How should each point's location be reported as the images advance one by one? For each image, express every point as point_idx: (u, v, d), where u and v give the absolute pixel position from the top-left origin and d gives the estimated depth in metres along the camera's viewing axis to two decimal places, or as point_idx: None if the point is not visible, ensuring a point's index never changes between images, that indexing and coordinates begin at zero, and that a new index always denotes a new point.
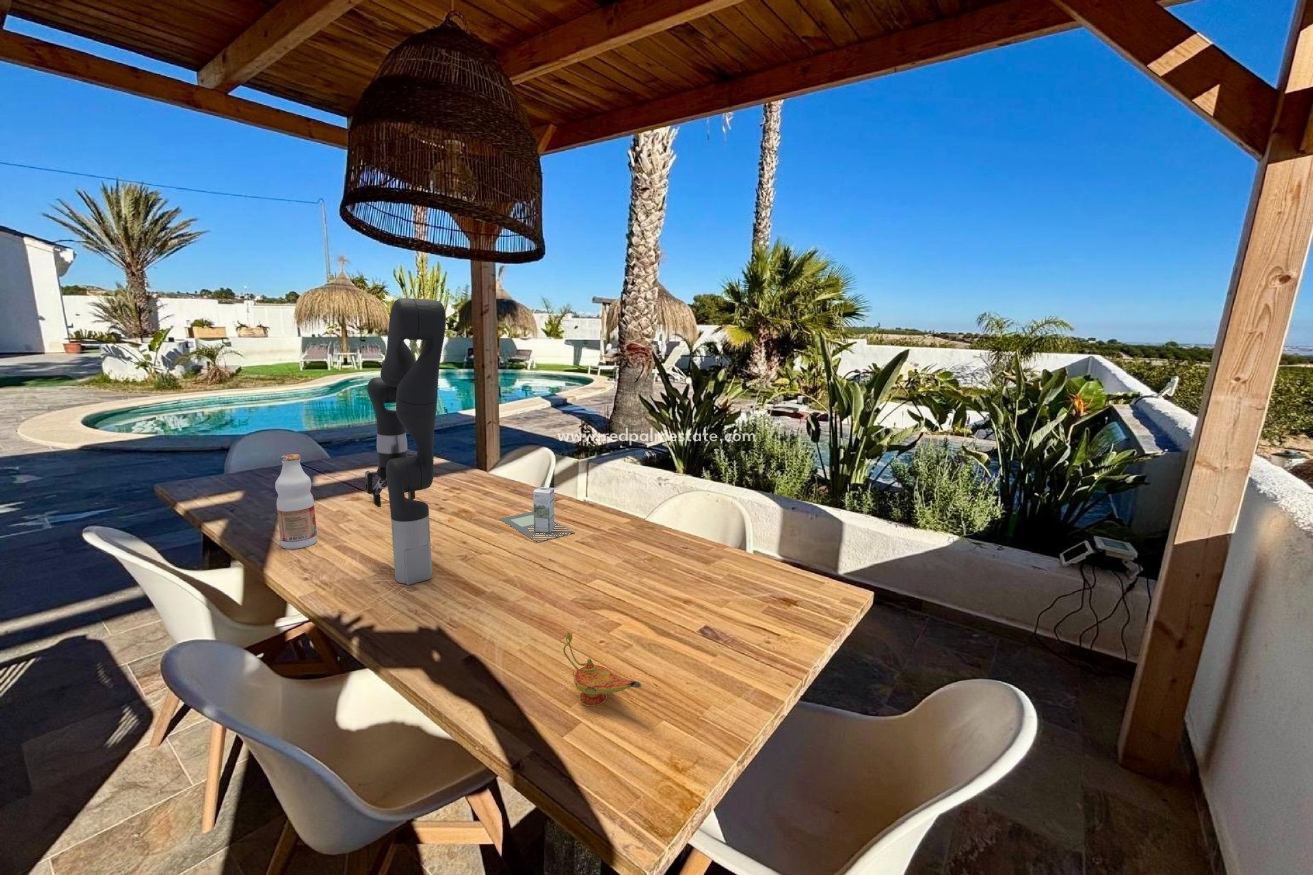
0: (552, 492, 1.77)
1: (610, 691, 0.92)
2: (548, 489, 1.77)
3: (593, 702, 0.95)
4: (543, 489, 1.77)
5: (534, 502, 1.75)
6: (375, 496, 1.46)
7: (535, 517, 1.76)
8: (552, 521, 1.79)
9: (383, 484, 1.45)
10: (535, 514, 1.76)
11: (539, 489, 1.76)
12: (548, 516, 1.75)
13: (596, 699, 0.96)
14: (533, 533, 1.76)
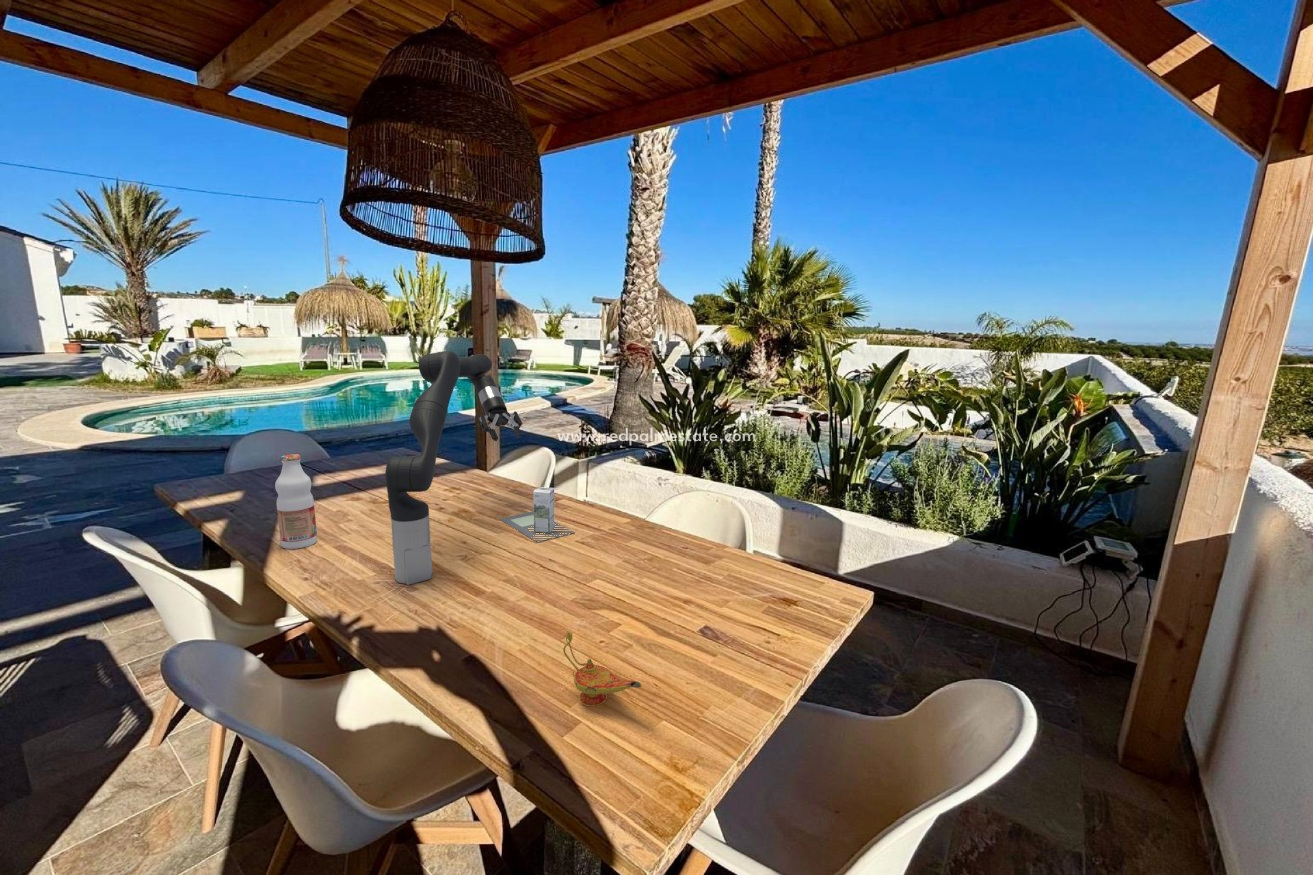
0: (552, 492, 1.77)
1: (610, 691, 0.92)
2: (548, 489, 1.77)
3: (593, 702, 0.95)
4: (543, 489, 1.77)
5: (534, 502, 1.75)
6: (491, 431, 1.83)
7: (535, 517, 1.76)
8: (552, 521, 1.79)
9: (494, 421, 1.84)
10: (535, 514, 1.76)
11: (539, 489, 1.76)
12: (548, 516, 1.75)
13: (596, 699, 0.96)
14: (533, 533, 1.76)
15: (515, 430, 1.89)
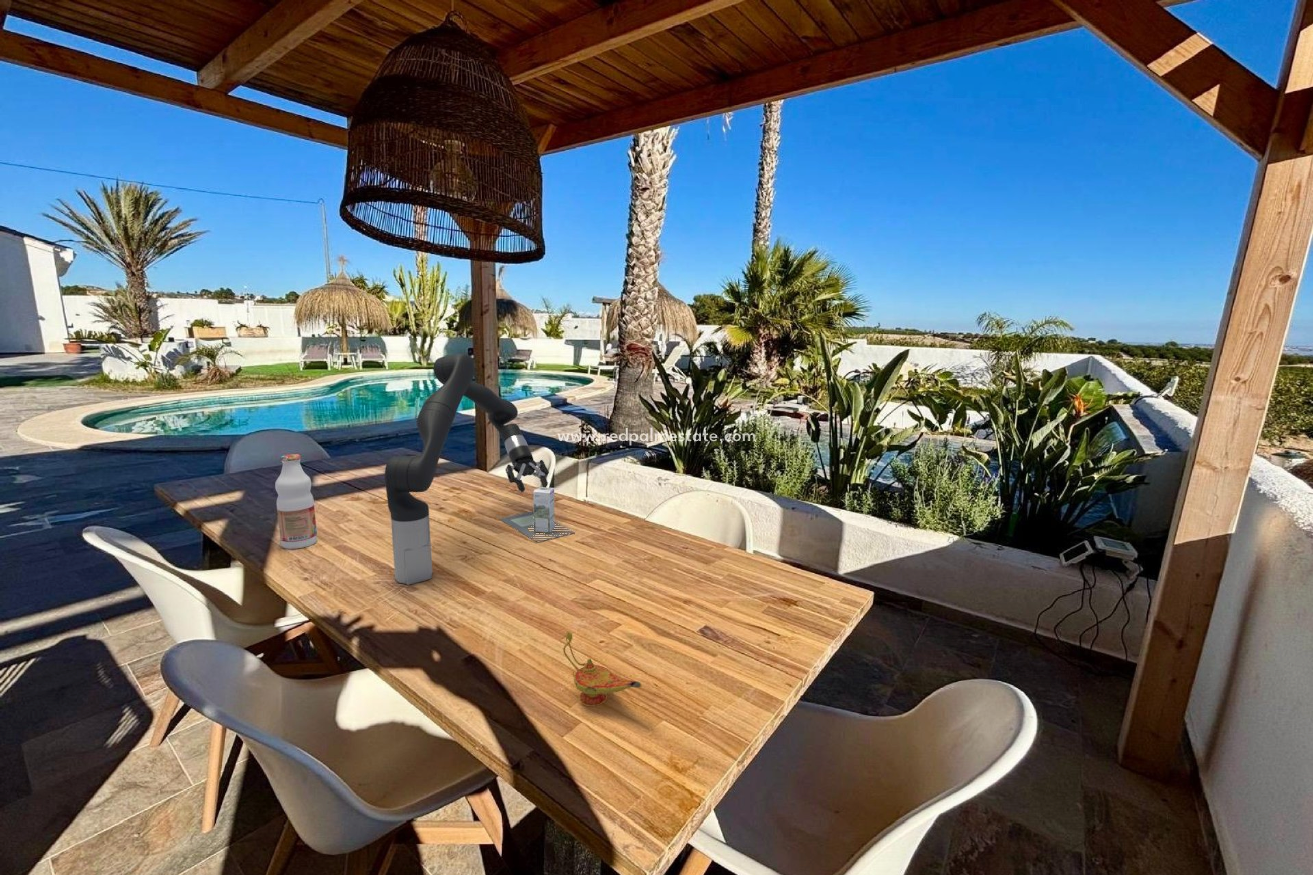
0: (552, 492, 1.77)
1: (610, 691, 0.92)
2: (548, 489, 1.77)
3: (593, 702, 0.95)
4: (543, 489, 1.77)
5: (534, 502, 1.75)
6: (518, 482, 1.79)
7: (535, 517, 1.76)
8: (552, 521, 1.79)
9: (521, 471, 1.81)
10: (535, 514, 1.76)
11: (539, 489, 1.76)
12: (548, 516, 1.75)
13: (596, 699, 0.96)
14: (533, 533, 1.76)
15: (542, 480, 1.85)
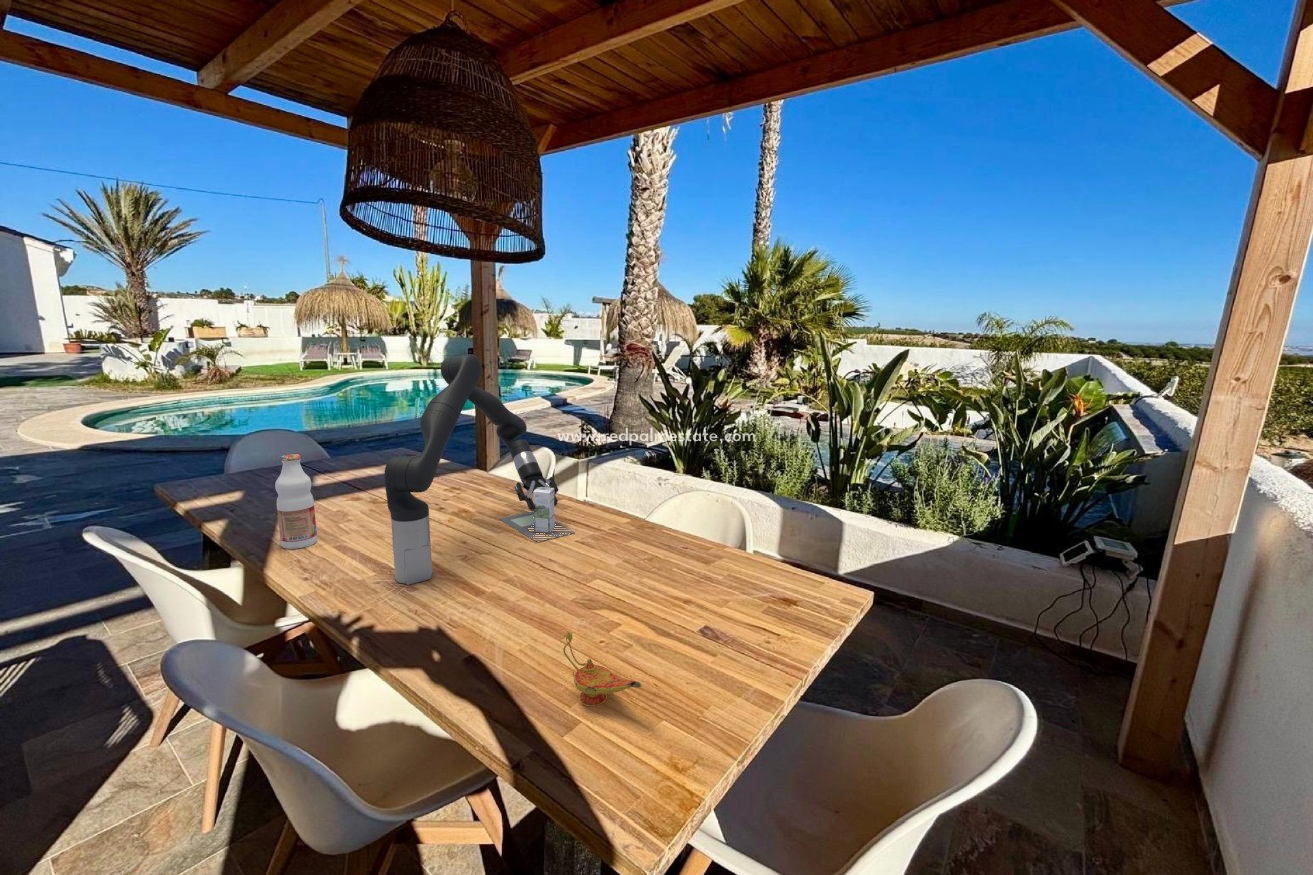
0: (552, 492, 1.77)
1: (610, 691, 0.92)
2: (548, 489, 1.77)
3: (593, 702, 0.95)
4: (543, 489, 1.77)
5: (534, 502, 1.75)
6: (528, 500, 1.75)
7: (535, 517, 1.76)
8: (552, 521, 1.79)
9: (530, 489, 1.77)
10: (535, 514, 1.76)
11: (539, 489, 1.76)
12: (548, 516, 1.75)
13: (596, 699, 0.96)
14: (533, 533, 1.76)
15: None
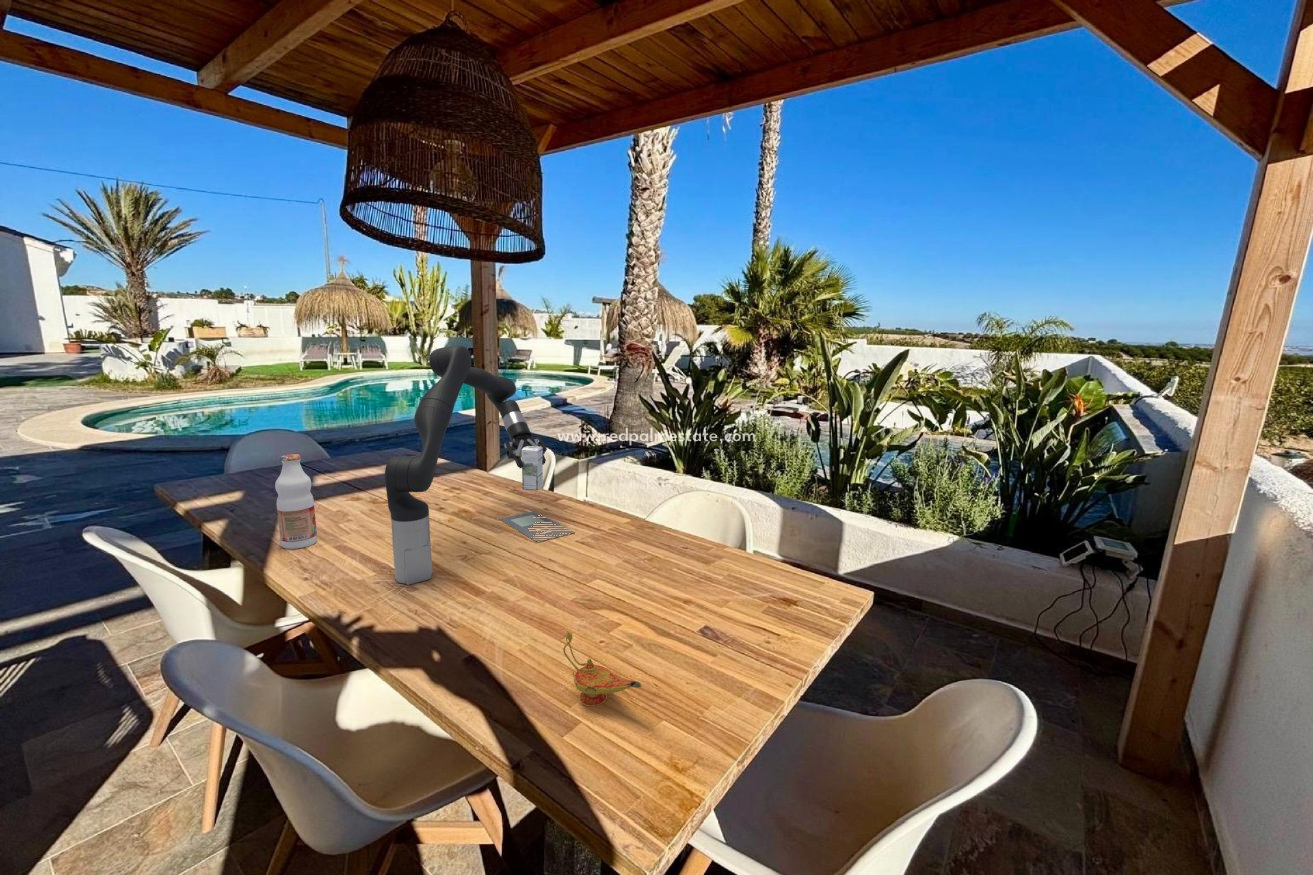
0: (540, 450, 1.81)
1: (610, 691, 0.92)
2: (536, 447, 1.80)
3: (593, 702, 0.95)
4: (531, 447, 1.80)
5: (522, 460, 1.79)
6: (516, 458, 1.79)
7: (523, 475, 1.80)
8: (540, 479, 1.83)
9: (519, 447, 1.81)
10: (523, 472, 1.80)
11: (527, 447, 1.80)
12: (536, 474, 1.79)
13: (596, 699, 0.96)
14: (533, 533, 1.76)
15: None
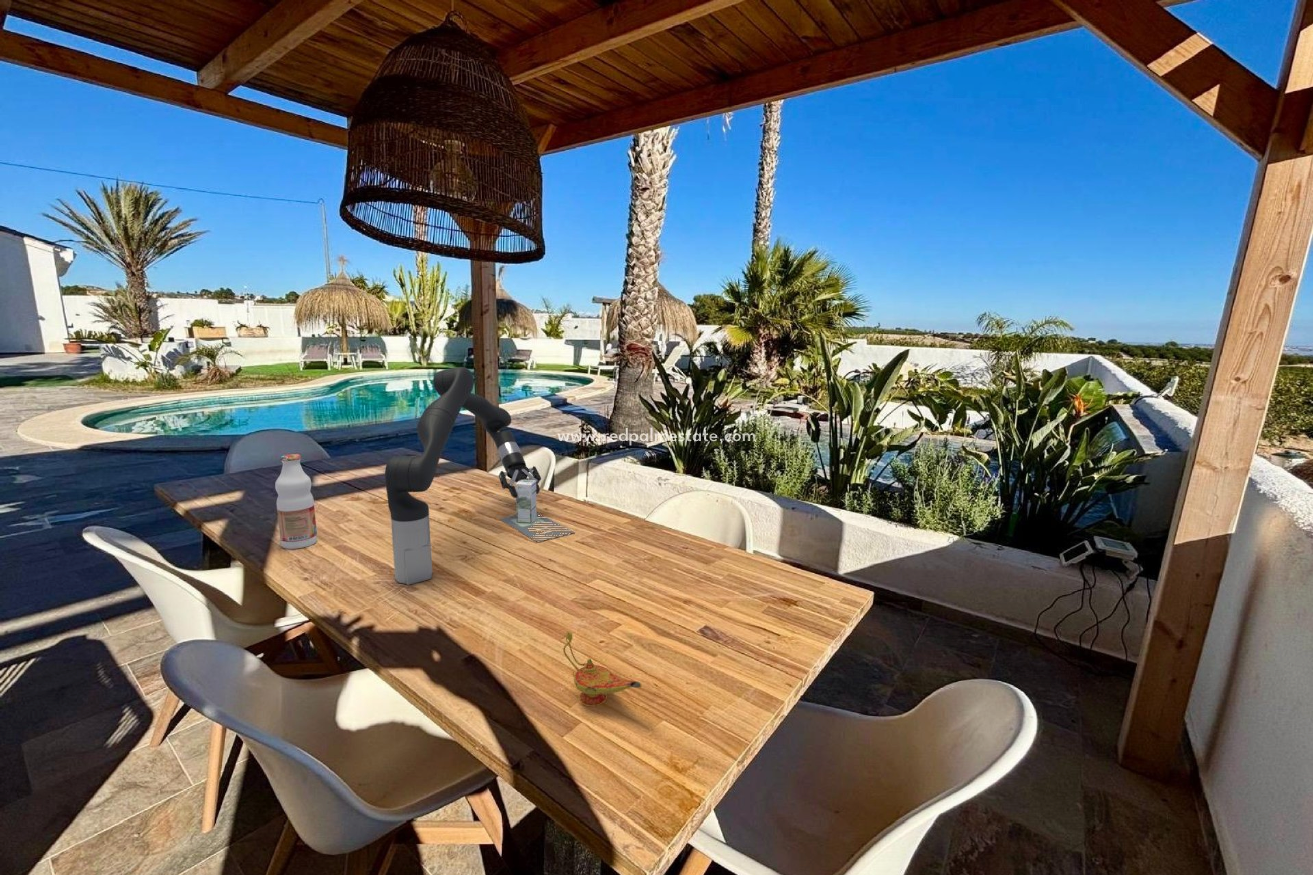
0: (534, 484, 1.86)
1: (610, 691, 0.92)
2: (530, 481, 1.85)
3: (593, 702, 0.95)
4: (525, 481, 1.85)
5: None
6: (511, 488, 1.84)
7: (517, 508, 1.85)
8: (534, 512, 1.88)
9: (513, 477, 1.86)
10: (517, 505, 1.85)
11: (521, 481, 1.85)
12: (530, 507, 1.84)
13: (596, 699, 0.96)
14: (533, 533, 1.76)
15: None
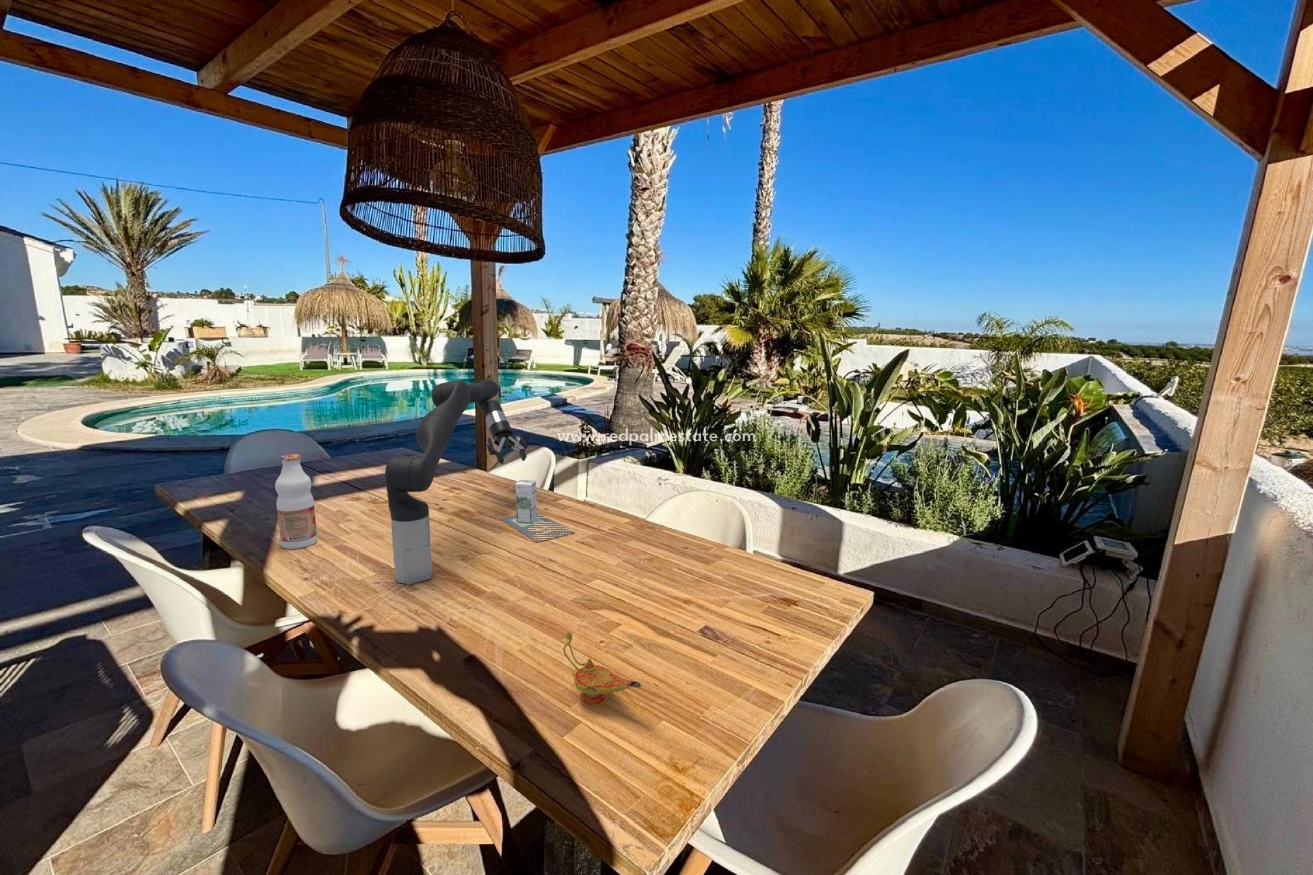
0: (534, 484, 1.86)
1: (610, 691, 0.92)
2: (530, 481, 1.85)
3: (593, 702, 0.95)
4: (525, 481, 1.85)
5: (516, 494, 1.84)
6: (498, 454, 1.89)
7: (517, 508, 1.85)
8: (534, 512, 1.88)
9: (500, 444, 1.91)
10: (517, 505, 1.85)
11: (521, 481, 1.85)
12: (530, 507, 1.84)
13: (596, 699, 0.96)
14: (533, 533, 1.76)
15: (521, 453, 1.95)
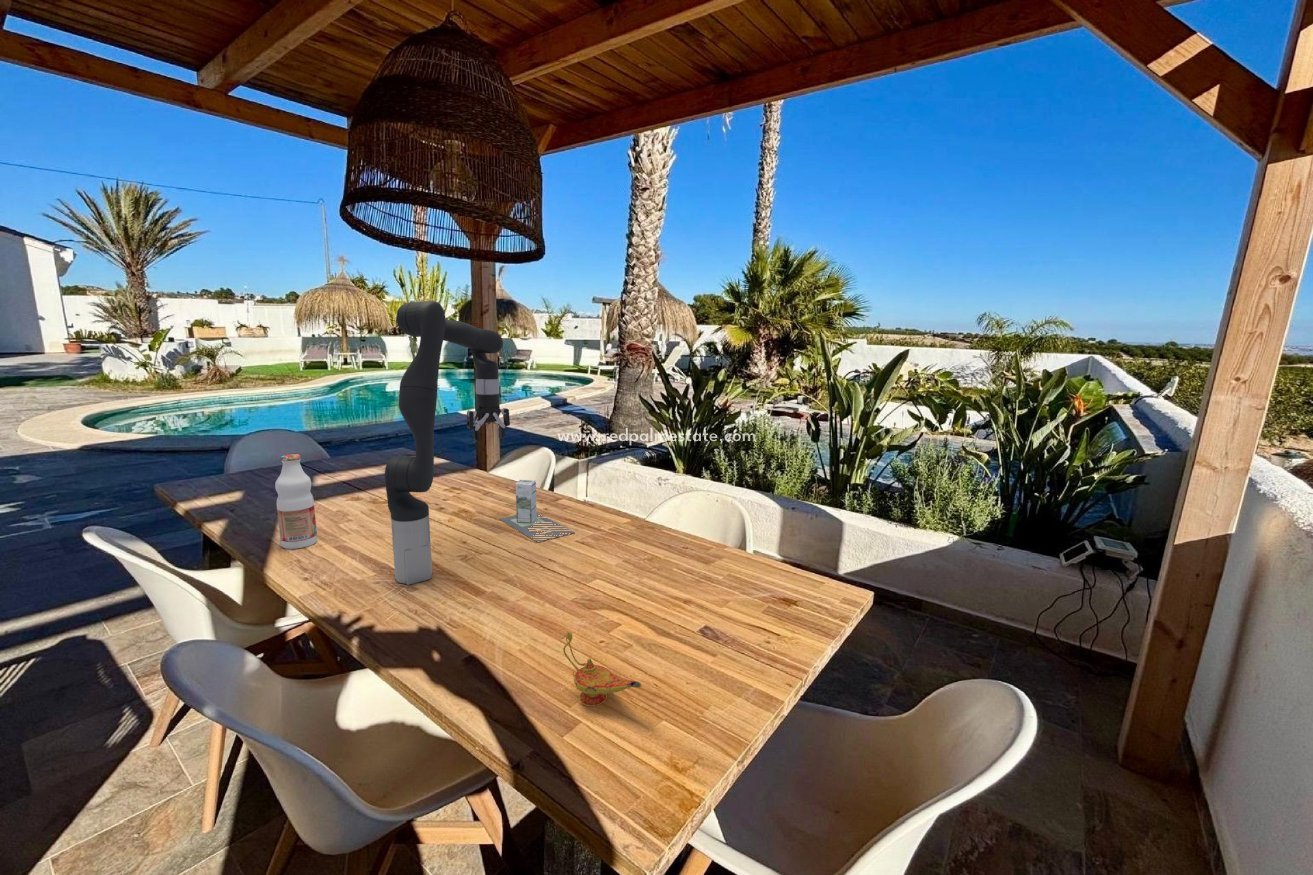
0: (534, 484, 1.86)
1: (610, 691, 0.92)
2: (530, 481, 1.85)
3: (593, 702, 0.95)
4: (525, 481, 1.85)
5: (516, 494, 1.84)
6: (475, 432, 1.75)
7: (517, 508, 1.85)
8: (534, 512, 1.88)
9: (481, 421, 1.75)
10: (517, 505, 1.85)
11: (521, 481, 1.85)
12: (530, 507, 1.84)
13: (596, 699, 0.96)
14: (533, 533, 1.76)
15: (500, 430, 1.81)
